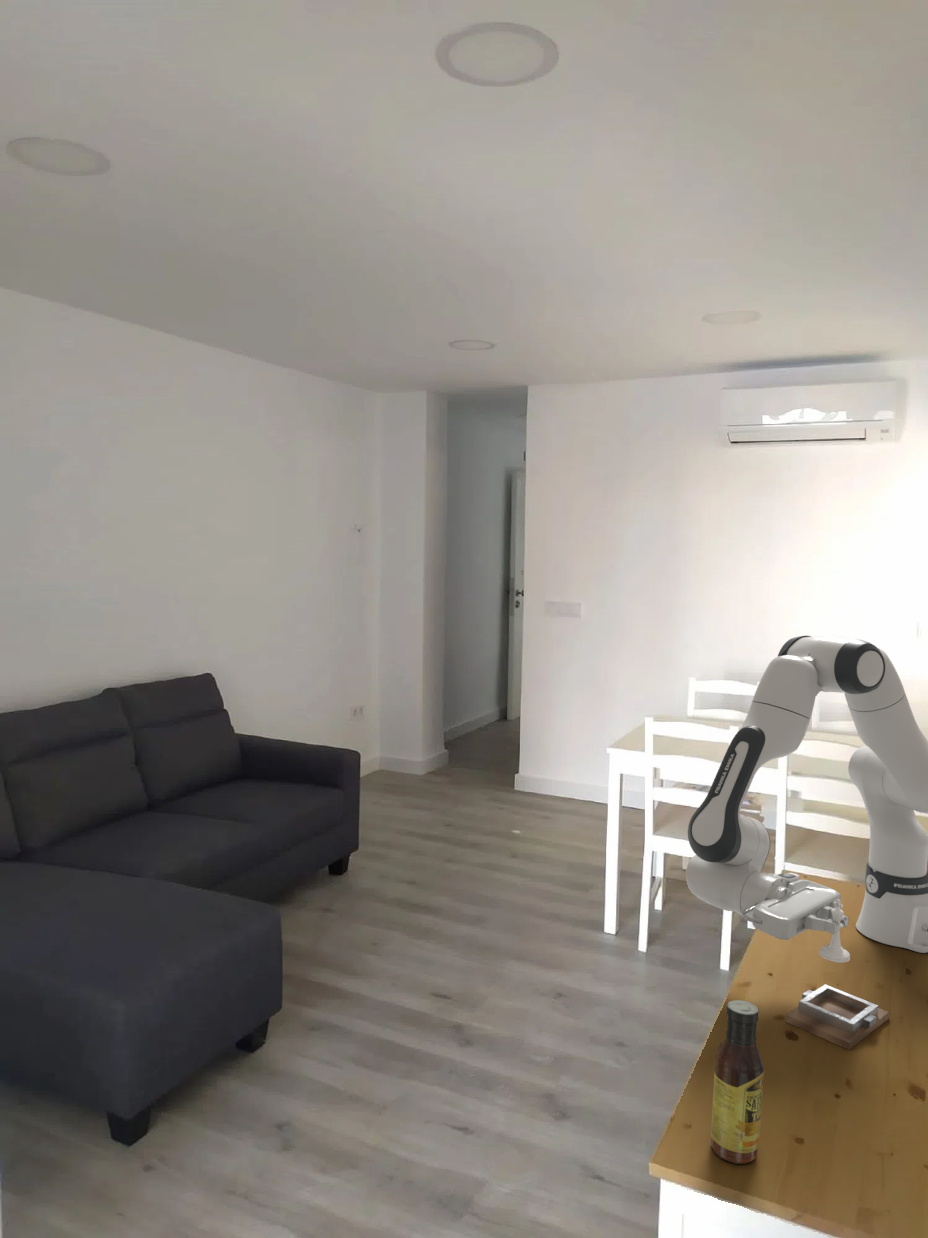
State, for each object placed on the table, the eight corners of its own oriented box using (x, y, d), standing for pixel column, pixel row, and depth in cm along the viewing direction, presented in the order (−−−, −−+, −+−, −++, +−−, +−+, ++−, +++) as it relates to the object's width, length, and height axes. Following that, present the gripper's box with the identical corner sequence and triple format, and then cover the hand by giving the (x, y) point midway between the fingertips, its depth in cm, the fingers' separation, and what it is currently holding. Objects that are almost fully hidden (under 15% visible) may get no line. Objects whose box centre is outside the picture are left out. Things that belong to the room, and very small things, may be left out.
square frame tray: (791, 1008, 155) (792, 998, 154) (818, 991, 161) (818, 982, 161) (859, 1038, 146) (860, 1027, 146) (884, 1018, 152) (885, 1008, 152)
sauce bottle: (751, 1174, 115) (760, 1026, 113) (703, 1155, 118) (711, 1012, 117) (764, 1145, 121) (772, 1004, 119) (718, 1128, 124) (725, 991, 122)
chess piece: (836, 965, 150) (840, 907, 149) (812, 952, 155) (816, 897, 154) (856, 959, 152) (860, 903, 152) (832, 947, 157) (836, 892, 156)
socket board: (785, 1021, 153) (786, 1015, 152) (827, 994, 163) (827, 987, 162) (849, 1050, 144) (849, 1043, 144) (888, 1019, 154) (889, 1012, 154)
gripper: (737, 897, 155) (813, 924, 145) (796, 870, 169) (869, 893, 159) (735, 932, 156) (811, 961, 146) (794, 902, 170) (867, 927, 159)
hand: (842, 925), depth 152 cm, fingers closed on chess piece, 2 cm apart
